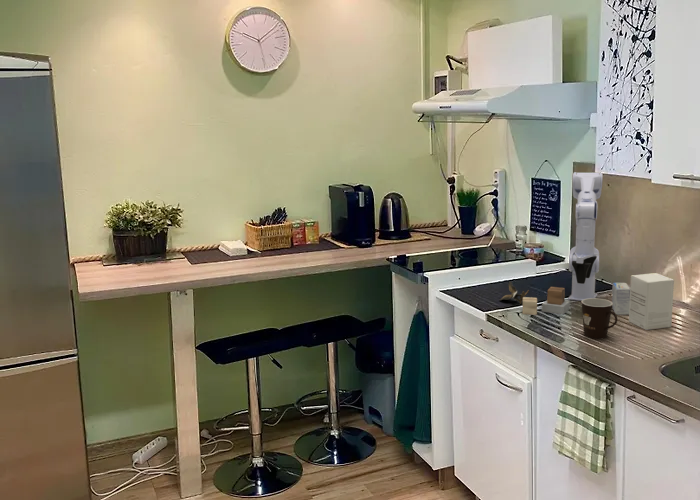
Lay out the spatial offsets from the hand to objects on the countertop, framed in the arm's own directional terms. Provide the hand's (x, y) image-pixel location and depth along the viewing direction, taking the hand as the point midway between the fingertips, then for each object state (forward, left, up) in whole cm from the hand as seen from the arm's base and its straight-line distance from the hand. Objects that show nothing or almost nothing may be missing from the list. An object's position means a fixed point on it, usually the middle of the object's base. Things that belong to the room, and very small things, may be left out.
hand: (583, 280), depth 226 cm
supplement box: (+5, +21, -11) cm, 24 cm away
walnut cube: (+2, -8, -8) cm, 11 cm away
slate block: (+2, -8, -11) cm, 14 cm away
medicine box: (-5, +11, -11) cm, 16 cm away
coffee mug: (+23, +9, -11) cm, 27 cm away
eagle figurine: (-2, -24, -11) cm, 26 cm away
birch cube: (+8, -15, -11) cm, 20 cm away
